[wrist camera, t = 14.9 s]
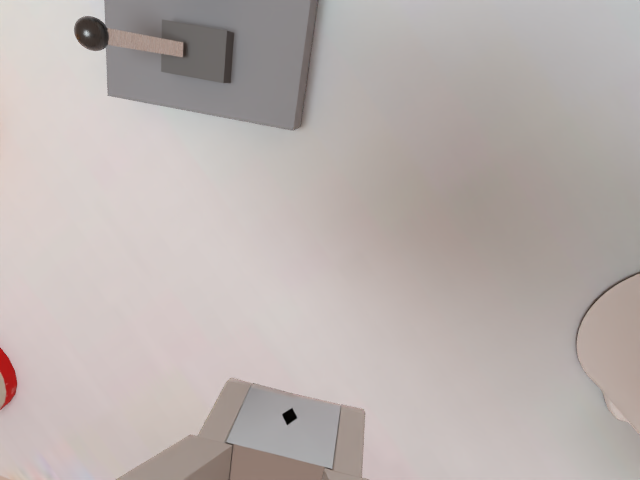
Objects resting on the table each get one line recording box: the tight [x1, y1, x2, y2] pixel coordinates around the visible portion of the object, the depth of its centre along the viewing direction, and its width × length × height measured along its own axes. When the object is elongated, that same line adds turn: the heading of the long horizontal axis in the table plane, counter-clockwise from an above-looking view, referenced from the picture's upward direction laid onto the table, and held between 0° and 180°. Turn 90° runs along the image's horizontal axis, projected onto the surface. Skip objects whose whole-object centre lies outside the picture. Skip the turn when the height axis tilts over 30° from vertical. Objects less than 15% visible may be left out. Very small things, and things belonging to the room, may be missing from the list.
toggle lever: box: [74, 16, 183, 57], centre depth 28 cm, size 2×2×7 cm
